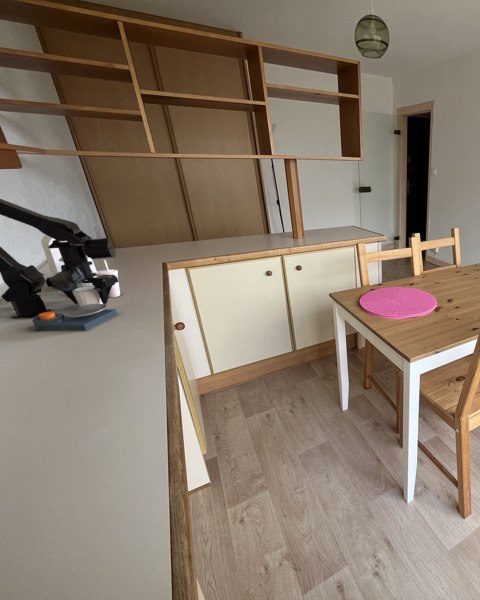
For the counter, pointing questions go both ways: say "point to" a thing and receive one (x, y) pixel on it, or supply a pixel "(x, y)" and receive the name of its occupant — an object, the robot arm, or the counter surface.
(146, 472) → the counter surface
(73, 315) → the weighing pan
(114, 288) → the smoothie
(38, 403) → the counter surface
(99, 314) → the scale
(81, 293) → the white short tapered cylinder
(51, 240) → the milk
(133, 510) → the counter surface
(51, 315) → the tare button
